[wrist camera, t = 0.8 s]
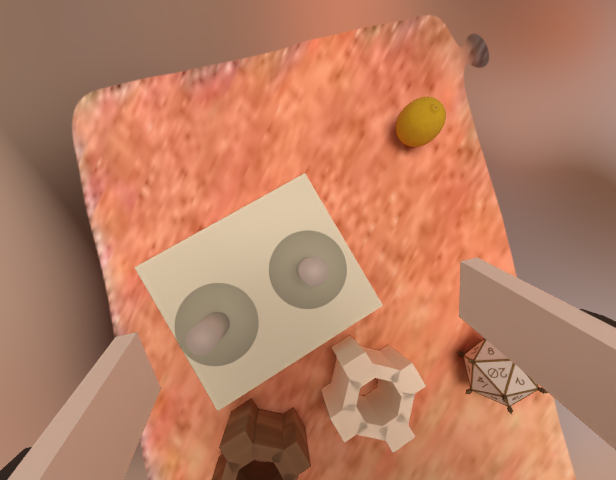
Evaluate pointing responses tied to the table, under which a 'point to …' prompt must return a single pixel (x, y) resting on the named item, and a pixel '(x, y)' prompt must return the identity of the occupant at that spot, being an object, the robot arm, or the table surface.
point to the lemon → (420, 121)
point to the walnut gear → (262, 445)
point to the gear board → (259, 290)
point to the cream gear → (372, 393)
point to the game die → (496, 375)
